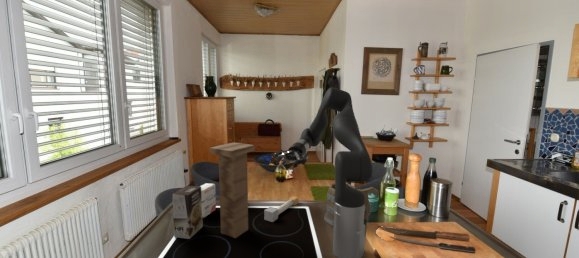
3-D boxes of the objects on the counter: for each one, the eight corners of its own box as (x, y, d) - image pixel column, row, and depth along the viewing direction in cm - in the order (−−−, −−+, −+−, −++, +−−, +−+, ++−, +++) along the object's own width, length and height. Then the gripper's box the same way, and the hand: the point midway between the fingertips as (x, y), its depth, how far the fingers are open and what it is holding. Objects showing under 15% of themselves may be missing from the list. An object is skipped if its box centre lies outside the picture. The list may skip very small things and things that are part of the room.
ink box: (207, 207, 118) (206, 182, 116) (216, 209, 116) (215, 183, 115) (194, 216, 110) (192, 188, 108) (204, 218, 108) (203, 190, 107)
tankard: (322, 225, 103) (323, 188, 101) (327, 211, 115) (328, 178, 113) (376, 233, 98) (378, 194, 96) (376, 218, 110) (378, 183, 107)
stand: (255, 227, 101) (254, 145, 96) (233, 243, 91) (231, 151, 86) (235, 221, 106) (233, 142, 101) (212, 234, 96) (209, 147, 91)
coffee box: (190, 239, 93) (188, 195, 90) (173, 237, 94) (171, 193, 92) (203, 226, 101) (201, 186, 99) (188, 224, 103) (186, 184, 101)
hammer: (291, 200, 126) (291, 192, 125) (299, 202, 124) (299, 194, 123) (264, 219, 107) (264, 210, 107) (272, 222, 105) (272, 212, 105)
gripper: (285, 140, 128) (269, 153, 114) (313, 144, 122) (300, 159, 109) (285, 154, 131) (270, 169, 117) (313, 158, 125) (300, 175, 111)
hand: (284, 164), depth 113 cm, fingers open, 8 cm apart
